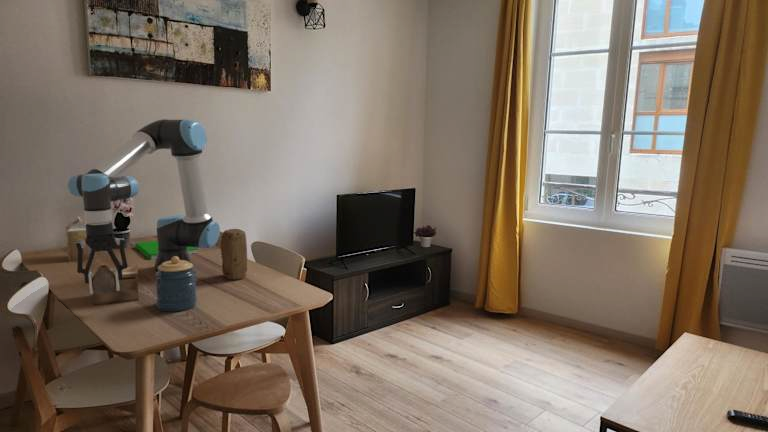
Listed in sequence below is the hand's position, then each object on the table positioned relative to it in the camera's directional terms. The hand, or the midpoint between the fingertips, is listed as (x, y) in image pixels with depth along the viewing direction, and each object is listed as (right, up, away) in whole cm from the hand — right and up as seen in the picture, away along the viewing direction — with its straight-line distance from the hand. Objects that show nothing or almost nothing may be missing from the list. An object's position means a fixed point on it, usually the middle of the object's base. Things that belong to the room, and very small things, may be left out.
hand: (105, 290), depth 165 cm
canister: (+20, -7, +9) cm, 23 cm away
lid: (-4, +4, +15) cm, 16 cm away
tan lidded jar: (-48, +5, +68) cm, 83 cm away
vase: (0, -1, 0) cm, 1 cm away
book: (-17, +7, +86) cm, 88 cm away
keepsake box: (-5, -5, +16) cm, 17 cm away
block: (+29, -1, +45) cm, 53 cm away
